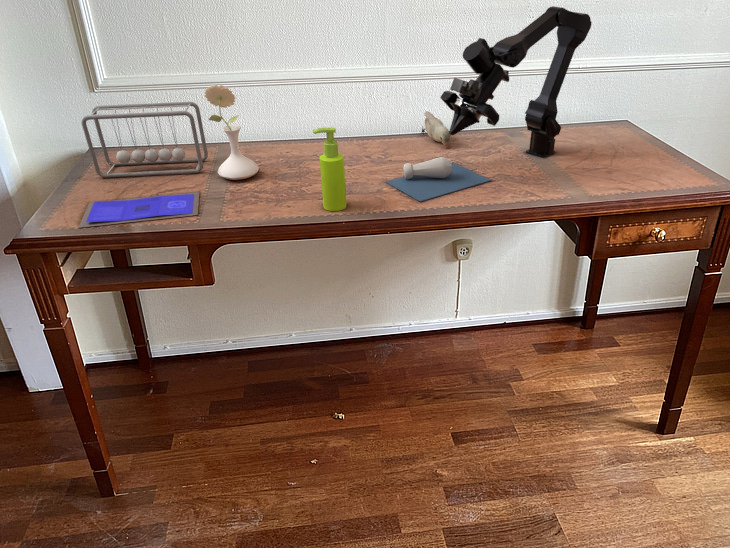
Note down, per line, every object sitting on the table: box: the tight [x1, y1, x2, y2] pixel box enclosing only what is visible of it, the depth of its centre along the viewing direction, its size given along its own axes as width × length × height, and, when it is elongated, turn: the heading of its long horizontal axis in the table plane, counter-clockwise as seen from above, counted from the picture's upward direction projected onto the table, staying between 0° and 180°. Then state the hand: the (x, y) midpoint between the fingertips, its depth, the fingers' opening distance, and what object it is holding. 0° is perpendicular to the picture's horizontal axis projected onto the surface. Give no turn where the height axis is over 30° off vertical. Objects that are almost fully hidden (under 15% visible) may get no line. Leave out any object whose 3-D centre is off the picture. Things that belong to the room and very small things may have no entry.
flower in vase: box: [203, 84, 260, 181], centre depth 165 cm, size 13×11×25 cm
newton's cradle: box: [81, 101, 209, 179], centre depth 172 cm, size 30×10×18 cm, turn 95°
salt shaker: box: [402, 156, 452, 179], centre depth 166 cm, size 6×6×13 cm
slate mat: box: [385, 162, 492, 203], centre depth 165 cm, size 24×16×1 cm, turn 123°
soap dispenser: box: [312, 127, 347, 212], centre depth 148 cm, size 6×7×20 cm
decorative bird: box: [420, 110, 451, 149], centre depth 191 cm, size 5×16×8 cm, turn 21°
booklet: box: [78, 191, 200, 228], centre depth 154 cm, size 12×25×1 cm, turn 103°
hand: (450, 134), depth 160 cm, fingers closed
